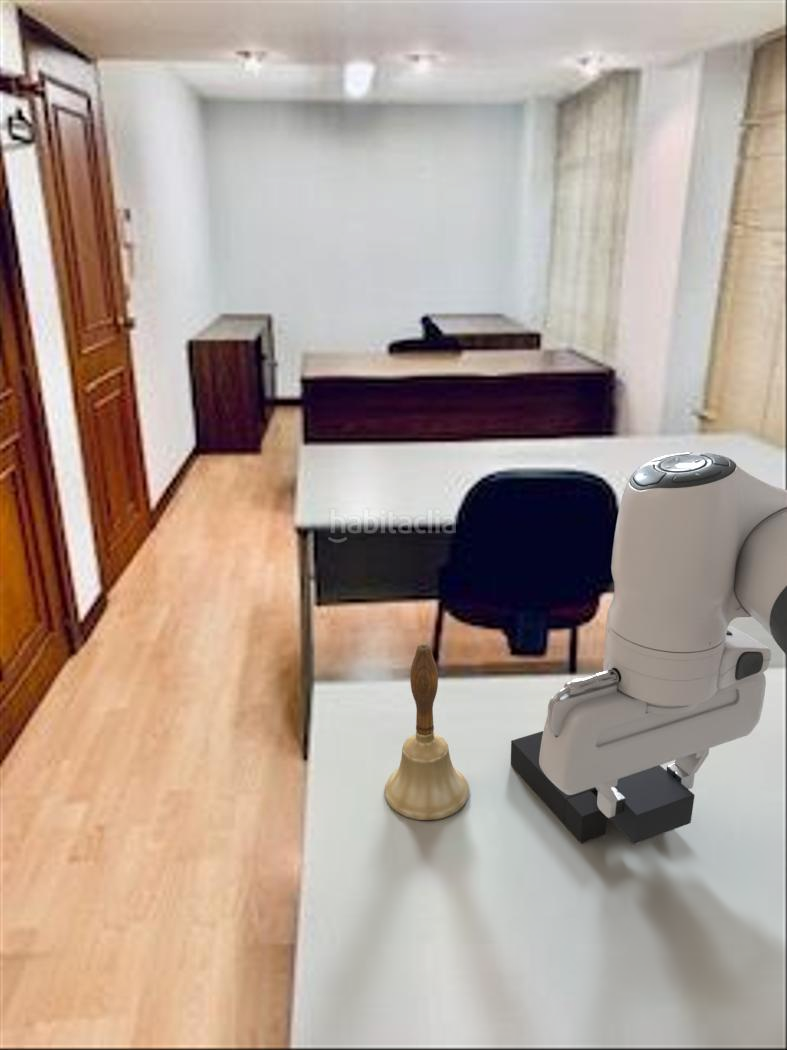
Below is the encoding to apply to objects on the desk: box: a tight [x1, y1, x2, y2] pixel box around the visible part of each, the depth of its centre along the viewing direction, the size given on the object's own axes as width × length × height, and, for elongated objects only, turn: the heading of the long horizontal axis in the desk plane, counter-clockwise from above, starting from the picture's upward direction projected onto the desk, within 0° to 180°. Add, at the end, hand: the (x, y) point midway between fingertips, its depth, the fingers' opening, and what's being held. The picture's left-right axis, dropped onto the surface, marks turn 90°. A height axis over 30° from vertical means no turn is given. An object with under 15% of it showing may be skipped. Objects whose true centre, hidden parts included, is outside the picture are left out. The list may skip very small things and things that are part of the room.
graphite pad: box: [597, 765, 695, 845], centre depth 66 cm, size 6×7×3 cm
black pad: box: [510, 730, 607, 844], centre depth 74 cm, size 9×12×3 cm
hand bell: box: [384, 643, 470, 821], centre depth 72 cm, size 8×8×16 cm
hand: (645, 798), depth 65 cm, fingers closed on graphite pad, 6 cm apart
